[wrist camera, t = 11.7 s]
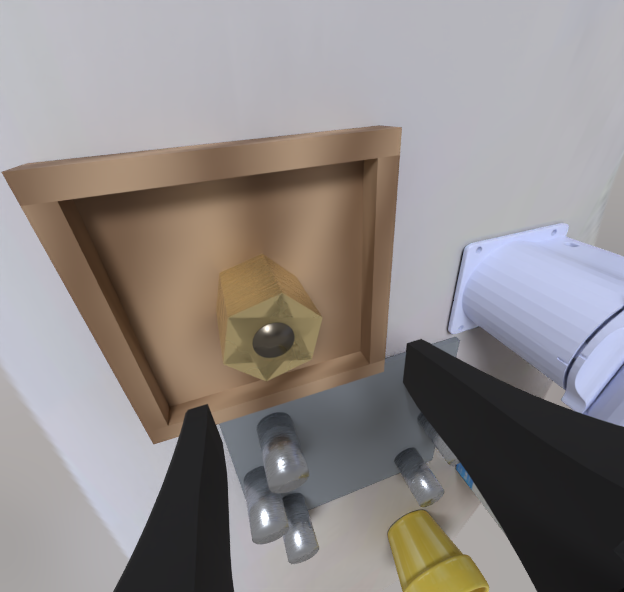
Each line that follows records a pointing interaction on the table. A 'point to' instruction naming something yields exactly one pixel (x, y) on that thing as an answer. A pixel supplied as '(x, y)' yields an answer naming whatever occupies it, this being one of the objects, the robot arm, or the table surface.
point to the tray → (221, 258)
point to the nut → (265, 319)
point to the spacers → (294, 472)
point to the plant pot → (431, 558)
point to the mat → (343, 432)
